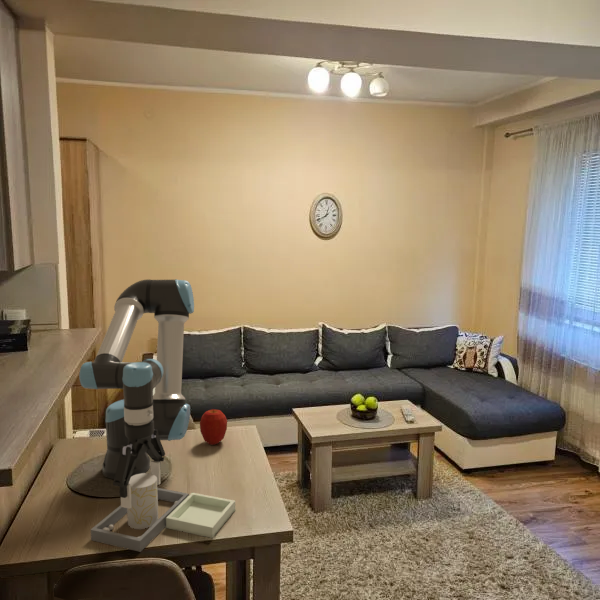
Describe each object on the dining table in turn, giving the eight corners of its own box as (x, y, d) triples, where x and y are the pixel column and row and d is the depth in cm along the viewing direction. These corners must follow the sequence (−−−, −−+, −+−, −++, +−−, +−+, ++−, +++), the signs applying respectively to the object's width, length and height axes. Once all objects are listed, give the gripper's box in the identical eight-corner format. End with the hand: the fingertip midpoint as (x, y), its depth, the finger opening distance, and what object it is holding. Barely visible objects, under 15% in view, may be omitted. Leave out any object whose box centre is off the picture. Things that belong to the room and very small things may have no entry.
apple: (226, 448, 190) (226, 412, 188) (198, 449, 189) (198, 412, 187) (228, 436, 200) (227, 402, 198) (201, 437, 199) (201, 402, 197)
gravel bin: (91, 540, 135) (90, 529, 135) (145, 494, 158) (145, 485, 157) (140, 551, 131) (140, 541, 130) (189, 503, 153) (188, 493, 153)
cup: (129, 532, 139) (127, 490, 137) (126, 516, 146) (124, 476, 144) (160, 525, 142) (159, 484, 140) (156, 510, 149) (154, 471, 148)
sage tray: (166, 528, 141) (166, 517, 140) (192, 501, 154) (192, 492, 153) (212, 538, 136) (212, 527, 136) (235, 510, 150) (235, 500, 149)
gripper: (121, 440, 127) (124, 521, 130) (176, 407, 150) (177, 476, 153) (96, 436, 129) (99, 515, 132) (153, 404, 152) (155, 472, 155)
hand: (141, 494), depth 142 cm, fingers open, 13 cm apart
